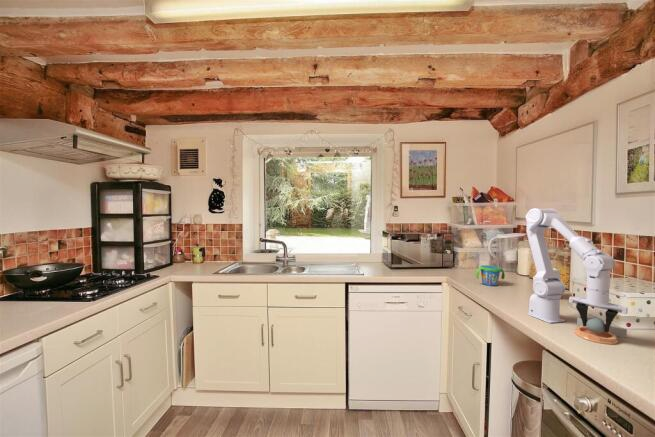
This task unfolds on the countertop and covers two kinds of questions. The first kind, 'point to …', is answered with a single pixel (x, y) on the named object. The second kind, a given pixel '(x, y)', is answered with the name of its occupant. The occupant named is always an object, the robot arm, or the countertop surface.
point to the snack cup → (490, 274)
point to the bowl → (596, 336)
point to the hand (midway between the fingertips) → (595, 328)
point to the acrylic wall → (612, 329)
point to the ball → (595, 325)
